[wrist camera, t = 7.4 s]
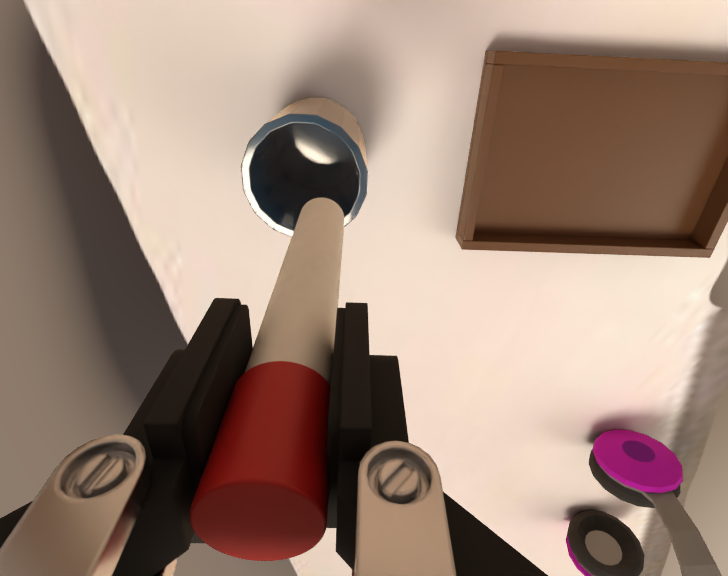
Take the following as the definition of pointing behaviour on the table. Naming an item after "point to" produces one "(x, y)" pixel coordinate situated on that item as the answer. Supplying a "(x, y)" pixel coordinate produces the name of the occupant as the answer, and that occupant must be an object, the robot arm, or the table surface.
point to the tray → (597, 156)
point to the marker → (280, 410)
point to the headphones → (641, 488)
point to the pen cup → (305, 163)
